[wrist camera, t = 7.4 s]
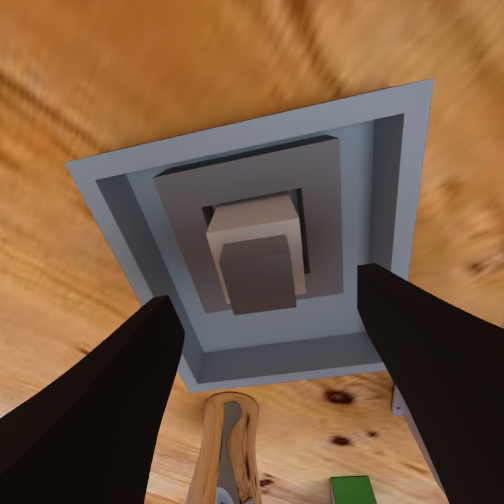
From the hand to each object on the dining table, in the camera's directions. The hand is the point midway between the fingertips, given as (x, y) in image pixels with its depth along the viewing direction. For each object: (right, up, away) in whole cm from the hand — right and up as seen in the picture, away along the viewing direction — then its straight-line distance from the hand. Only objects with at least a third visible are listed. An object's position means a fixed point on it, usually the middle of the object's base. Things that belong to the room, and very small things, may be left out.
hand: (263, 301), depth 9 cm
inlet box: (+1, +1, +8) cm, 8 cm away
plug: (0, +4, +6) cm, 7 cm away
